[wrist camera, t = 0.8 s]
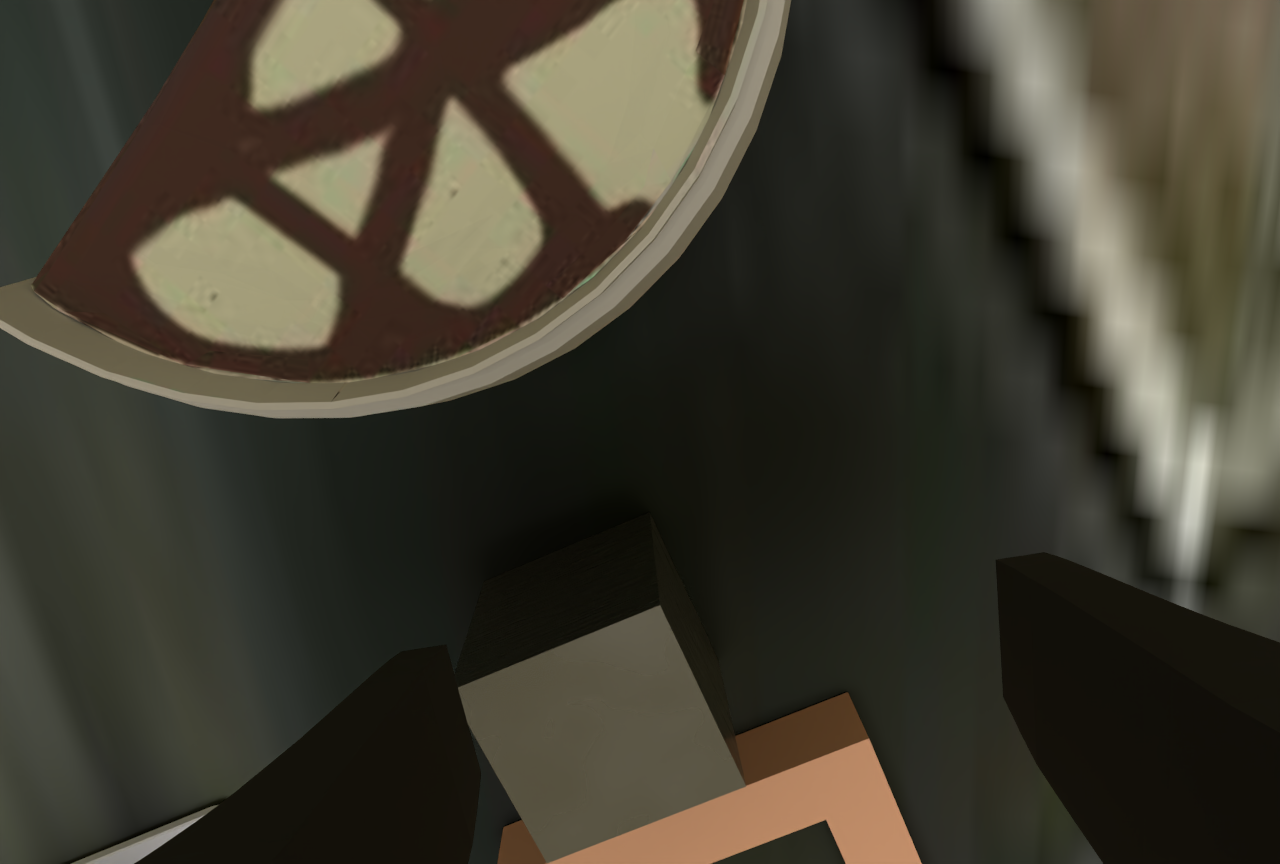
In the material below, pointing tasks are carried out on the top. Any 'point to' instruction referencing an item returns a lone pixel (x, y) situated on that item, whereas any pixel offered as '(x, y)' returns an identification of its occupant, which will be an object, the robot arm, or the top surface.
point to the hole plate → (769, 801)
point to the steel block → (597, 691)
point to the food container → (399, 196)
